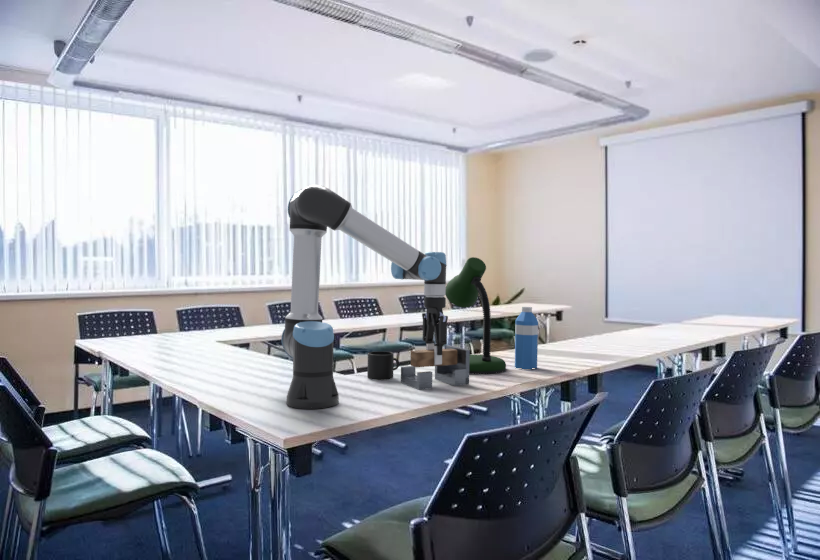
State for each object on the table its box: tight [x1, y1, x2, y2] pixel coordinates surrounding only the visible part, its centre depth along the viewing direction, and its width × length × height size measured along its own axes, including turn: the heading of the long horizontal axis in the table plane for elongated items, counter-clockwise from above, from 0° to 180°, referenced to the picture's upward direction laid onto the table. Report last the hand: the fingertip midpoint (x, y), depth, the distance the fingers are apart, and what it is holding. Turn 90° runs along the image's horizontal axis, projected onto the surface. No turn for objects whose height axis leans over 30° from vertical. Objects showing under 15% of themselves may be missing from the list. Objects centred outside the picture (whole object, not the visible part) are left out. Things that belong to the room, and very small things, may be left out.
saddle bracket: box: [400, 365, 433, 391], centre depth 191 cm, size 5×13×6 cm, turn 29°
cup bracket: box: [434, 344, 471, 387], centre depth 198 cm, size 6×13×12 cm, turn 29°
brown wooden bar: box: [410, 348, 457, 368], centre depth 194 cm, size 16×4×5 cm, turn 116°
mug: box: [366, 350, 400, 381], centre depth 204 cm, size 9×12×9 cm
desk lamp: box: [445, 256, 507, 375], centre depth 227 cm, size 31×23×45 cm
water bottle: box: [514, 306, 539, 370], centre depth 228 cm, size 9×9×25 cm
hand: (433, 363), depth 194 cm, fingers closed on brown wooden bar, 5 cm apart
